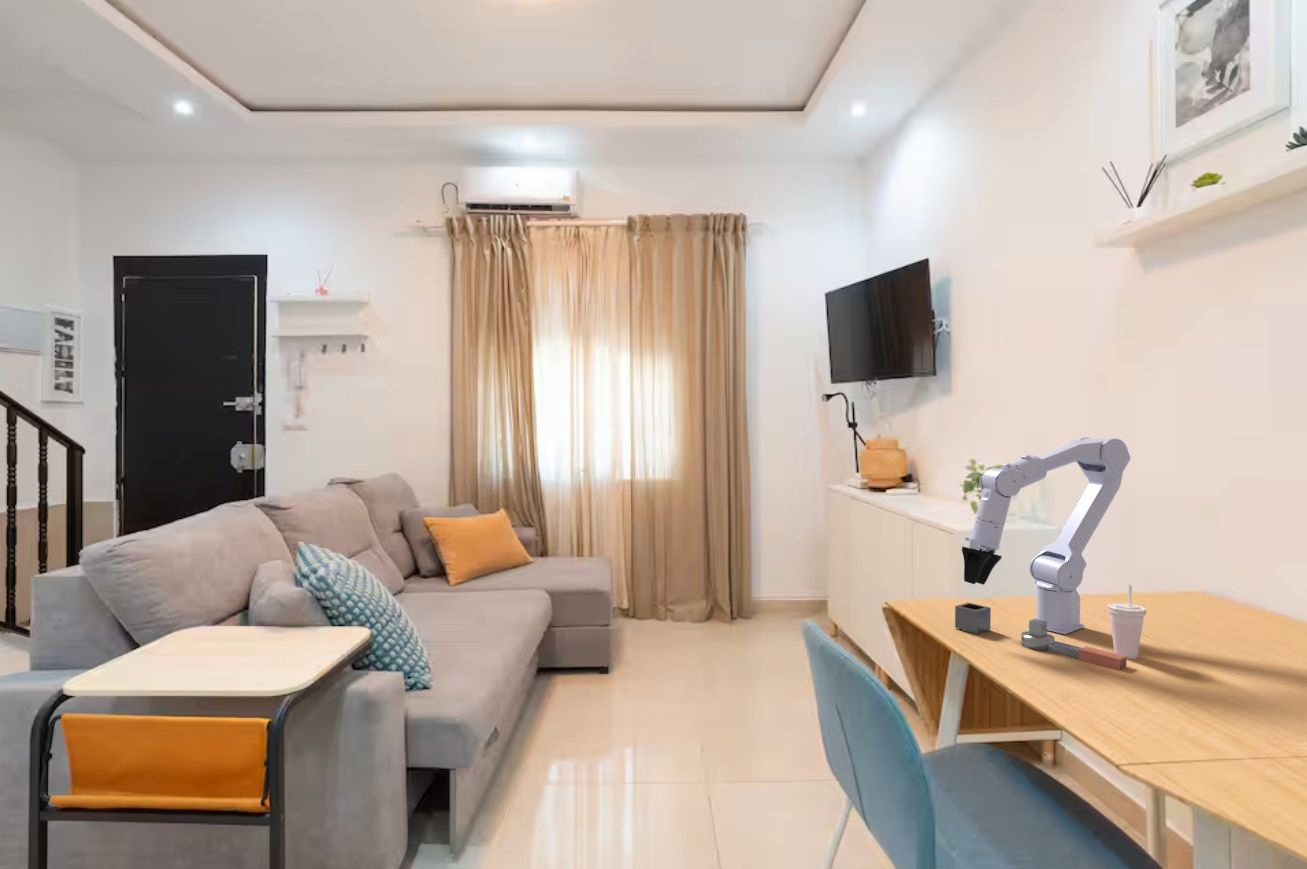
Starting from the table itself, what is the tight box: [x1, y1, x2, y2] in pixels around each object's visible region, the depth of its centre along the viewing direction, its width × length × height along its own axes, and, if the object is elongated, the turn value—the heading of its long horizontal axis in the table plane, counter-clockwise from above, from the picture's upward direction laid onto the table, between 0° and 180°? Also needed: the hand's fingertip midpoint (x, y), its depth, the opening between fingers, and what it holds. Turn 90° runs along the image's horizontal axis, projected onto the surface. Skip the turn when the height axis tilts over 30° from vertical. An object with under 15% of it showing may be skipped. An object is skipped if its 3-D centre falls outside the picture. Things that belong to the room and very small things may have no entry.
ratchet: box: [1020, 618, 1128, 671], centre depth 140 cm, size 18×6×5 cm, turn 36°
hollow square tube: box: [954, 602, 992, 635], centre depth 156 cm, size 5×5×5 cm
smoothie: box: [1106, 584, 1147, 660], centre depth 139 cm, size 6×6×14 cm
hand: (974, 583), depth 154 cm, fingers open, 7 cm apart
